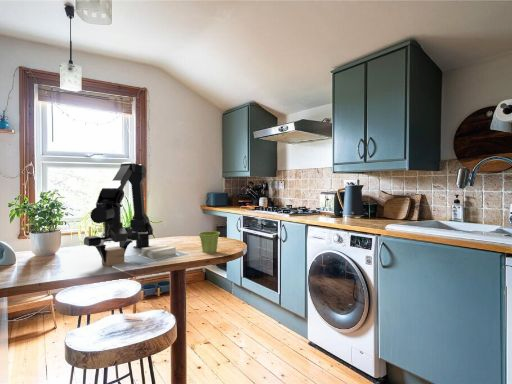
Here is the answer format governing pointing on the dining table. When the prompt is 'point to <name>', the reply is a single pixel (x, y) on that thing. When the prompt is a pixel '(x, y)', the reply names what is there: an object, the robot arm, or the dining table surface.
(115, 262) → the walnut cube
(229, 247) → the dining table surface
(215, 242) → the plant pot
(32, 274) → the dining table surface
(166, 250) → the plinth
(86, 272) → the dining table surface
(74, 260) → the dining table surface
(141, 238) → the robot arm
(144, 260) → the board
